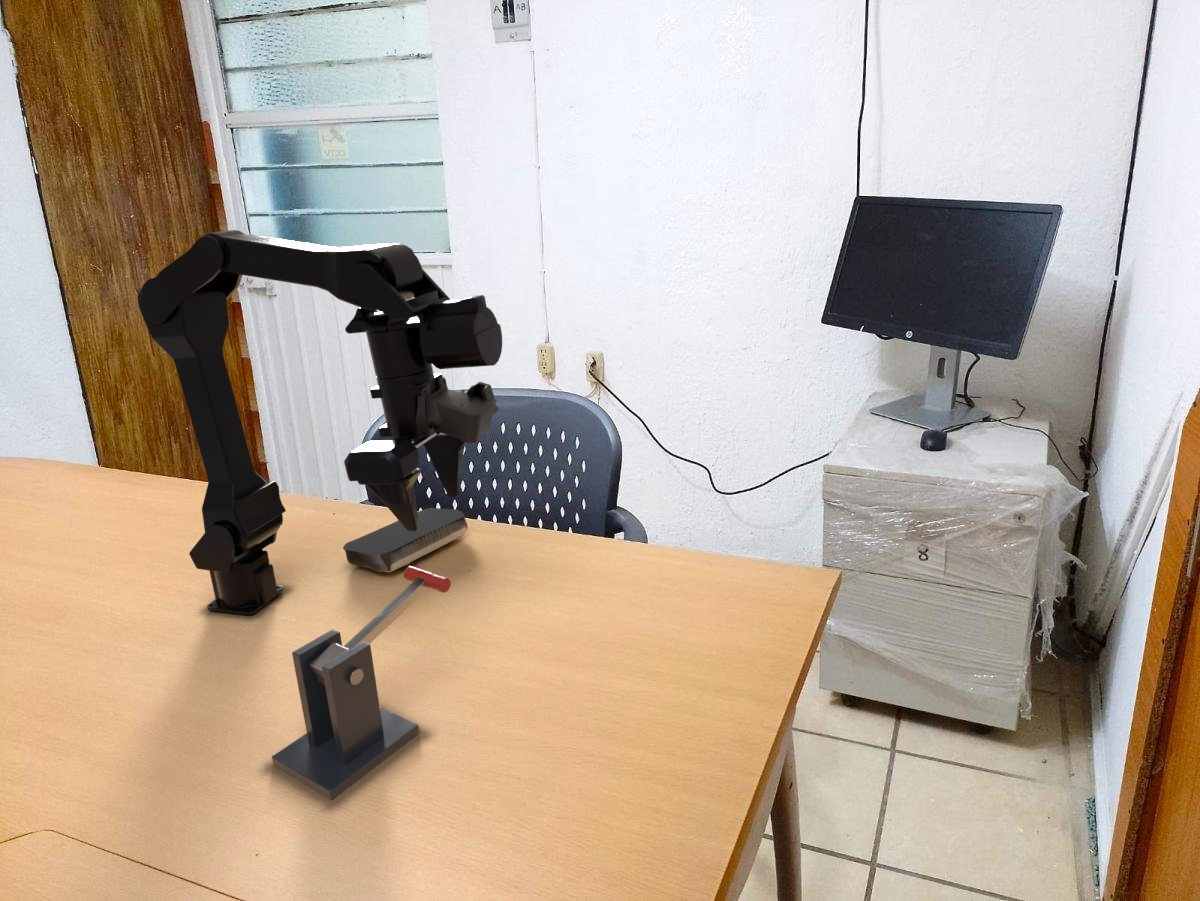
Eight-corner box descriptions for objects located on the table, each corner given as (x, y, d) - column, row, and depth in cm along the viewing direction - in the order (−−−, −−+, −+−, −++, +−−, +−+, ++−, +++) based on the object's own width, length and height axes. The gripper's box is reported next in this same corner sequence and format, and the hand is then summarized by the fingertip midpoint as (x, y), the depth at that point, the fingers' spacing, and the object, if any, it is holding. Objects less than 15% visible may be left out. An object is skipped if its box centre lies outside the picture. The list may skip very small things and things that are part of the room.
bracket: (362, 707, 81) (347, 610, 77) (420, 735, 77) (406, 634, 73) (273, 767, 73) (252, 663, 70) (332, 802, 69) (312, 693, 65)
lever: (417, 577, 82) (410, 558, 81) (454, 590, 80) (447, 571, 78) (308, 678, 73) (298, 659, 72) (346, 696, 70) (336, 677, 69)
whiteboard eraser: (383, 584, 104) (379, 557, 103) (341, 567, 109) (337, 541, 108) (474, 537, 117) (472, 513, 115) (433, 523, 121) (431, 500, 120)
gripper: (430, 391, 73) (462, 551, 78) (512, 346, 90) (535, 480, 95) (324, 398, 77) (361, 550, 82) (422, 353, 94) (448, 481, 98)
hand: (434, 512), depth 89 cm, fingers open, 9 cm apart
